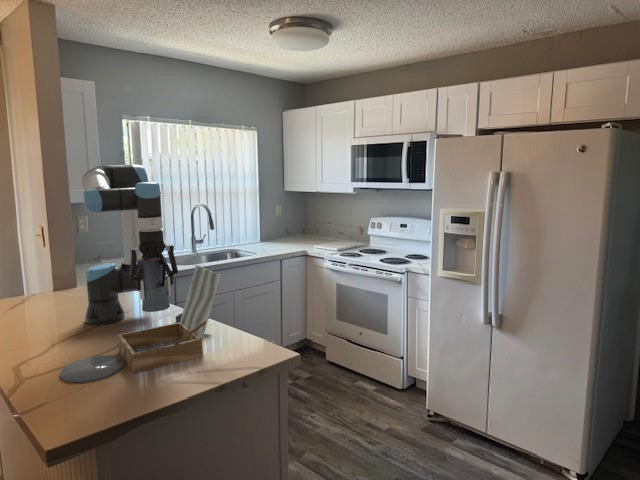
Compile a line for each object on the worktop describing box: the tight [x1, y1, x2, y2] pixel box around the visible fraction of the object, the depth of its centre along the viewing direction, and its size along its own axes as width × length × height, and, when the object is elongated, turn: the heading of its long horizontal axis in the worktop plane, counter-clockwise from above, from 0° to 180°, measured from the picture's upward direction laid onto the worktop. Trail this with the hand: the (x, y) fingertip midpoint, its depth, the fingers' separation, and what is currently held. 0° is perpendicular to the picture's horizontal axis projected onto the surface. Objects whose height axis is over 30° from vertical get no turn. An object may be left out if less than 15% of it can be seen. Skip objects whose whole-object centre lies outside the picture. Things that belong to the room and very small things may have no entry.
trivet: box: [59, 354, 125, 383], centre depth 146 cm, size 18×18×1 cm
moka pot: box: [137, 256, 171, 313], centre depth 155 cm, size 10×15×20 cm, turn 51°
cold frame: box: [117, 264, 222, 374], centre depth 158 cm, size 22×30×27 cm
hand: (155, 296), depth 155 cm, fingers closed on moka pot, 8 cm apart
